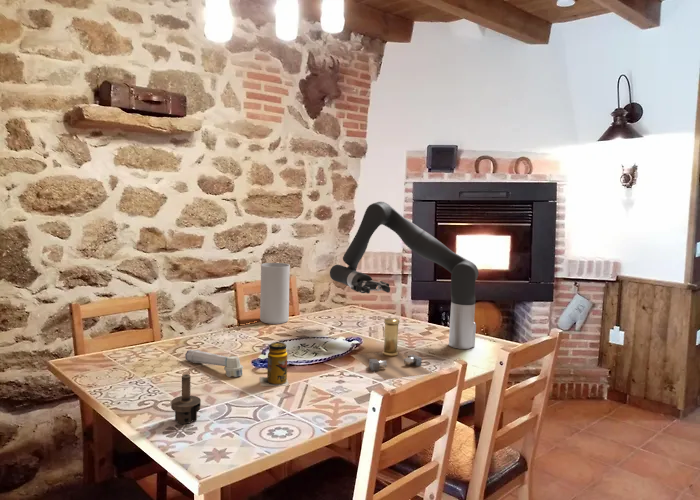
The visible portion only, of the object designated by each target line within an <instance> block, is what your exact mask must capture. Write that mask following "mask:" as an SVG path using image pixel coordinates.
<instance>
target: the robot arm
mask: <svg viewBox="0 0 700 500" xmlns="http://www.w3.org/2000/svg"><path fill="white" fill-rule="evenodd" d="M382 225H383V226H384V227H387V228H388V229H390V230H392V232H394V233H395V234H396V235H398V237H399V238H400V240H401V241H402V242H403V243H404V245H406V247H407V248H408V249H409V250H411V251H412V252H414V253H415V254H417V255H418V256H420V257H422V259H425V260H428V261H430V262H433V263H434V264H437V265H438V266H441V267H443V268H444V269H445V270H447V271H448V272H449V273H450V274H451V275H450V276H451V277H450V297H451V300H450V315H449V316H450V318H449V335H448V346H449V347H451V348H454V349H460V350H468V349H472V348H474V347H476V345H475V344H476V334H477V333H476V331H477V323H476V322H475V314H476V313H475V312H476V281H477V280H478V277H479V269H478V267H477V266H476V264H475V263H474V262H472V261H470V260H468V259H466V258H465V257H463V256H462V255H459V254H457V253H456V252H454V251H453V250H451V249H450V248H449V247H447V246H446V245H445V244H444V243H442V241H440V240H438V239H437V238H436V237H434V236H433V235H432V234H430V233H429V232H427V231H426V230H424V229H422V228H421V227H419V226H418V225H417V224H415V223H413V222H412V221H410V220H408V219H407V218H405V217H404V216H403V215H402V214H400V213H399V212H398V211H397V210H396V209H394V208H393V206H391V204H389V203H387V202H385V201H377V202H373V203H371V204H369V205H368V207H366V209H365V211H364V215H363V217H362V220H361V222H360V225H359V226H358V230H357V232H356V233H355V235H354V238H353V239H352V240H351V242H350V245H349V246H348V247H347V249H346V251H345V252H344V255H343V256H342V261H343V263H345V264H346V265H347V266H344V265H342V264H335V265H333V266H332V267H331V268H330V270H329V276H330V279H331V280H333V281H335V282H337V283H340V284H343V285H346V286H348V287H349V288H350V289H351V290H353V291H354V292H356V293H360V294H370V293H371V292H373V291H375V292H380V291H383V292H386V293H387V294H388V293H390V292H391V287H390V283H388V282H385V281H382V280H381V281H375V280H373V278H372V276H370V275H369V274H367V273H364V272H362V271H357V268H358V265H359V263H360V262H361V260H362V259H363V257H364V255H365V253H366V250H367V248H368V246H369V243H370V240H371V238H372V236H373V234H374V233H375V231H376V230H377V229H378V228H379V227H380V226H382Z"/></svg>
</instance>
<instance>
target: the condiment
mask: <svg viewBox="0 0 700 500" xmlns="http://www.w3.org/2000/svg"><path fill="white" fill-rule="evenodd" d="M266 369H267V372H266V375H267V376H260V377H259V383H260V387H270V386H272V387H276V386H277V387H278V386H279V387H280V386H289V385H290V383H289V380H288V352H287V344H286V343H285V342H279V341H278V342H272V343H270V344H269V346H268V353H267V368H266Z"/></svg>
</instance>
